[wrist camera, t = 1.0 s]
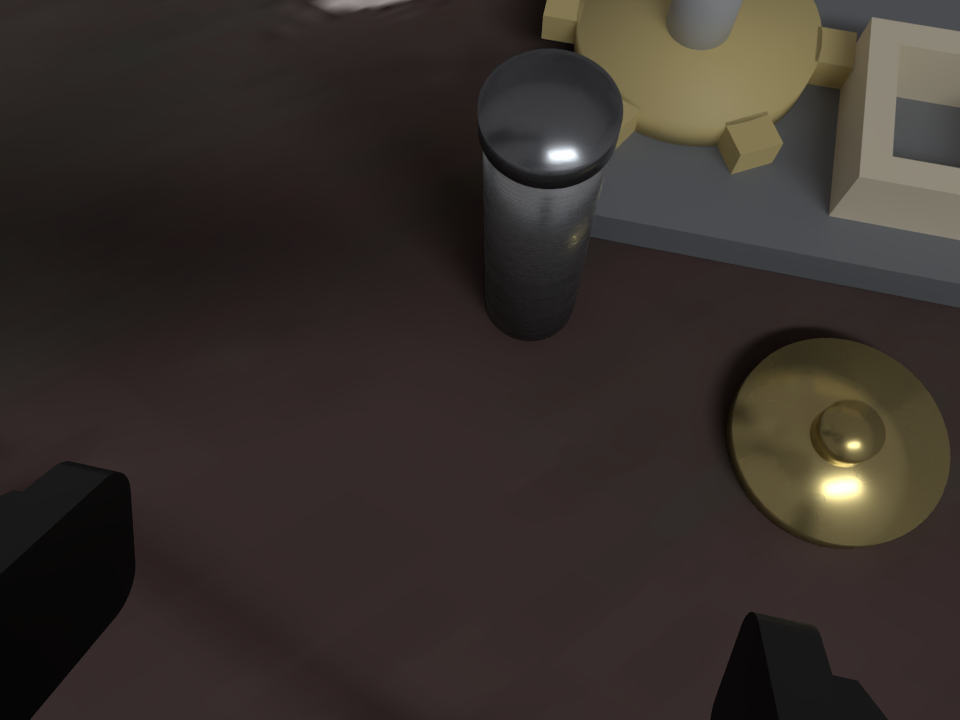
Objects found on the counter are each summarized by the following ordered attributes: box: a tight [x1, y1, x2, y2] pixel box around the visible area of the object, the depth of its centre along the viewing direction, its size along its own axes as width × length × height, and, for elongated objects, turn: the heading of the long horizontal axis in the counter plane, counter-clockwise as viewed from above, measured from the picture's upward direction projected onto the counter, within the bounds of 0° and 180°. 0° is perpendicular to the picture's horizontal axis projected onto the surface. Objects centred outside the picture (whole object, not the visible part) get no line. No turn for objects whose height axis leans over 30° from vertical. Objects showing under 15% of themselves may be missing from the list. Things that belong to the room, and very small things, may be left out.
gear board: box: [541, 0, 960, 308], centre depth 29 cm, size 20×14×6 cm
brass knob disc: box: [726, 338, 950, 549], centre depth 26 cm, size 7×7×2 cm
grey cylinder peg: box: [477, 49, 623, 341], centre depth 24 cm, size 3×3×11 cm
